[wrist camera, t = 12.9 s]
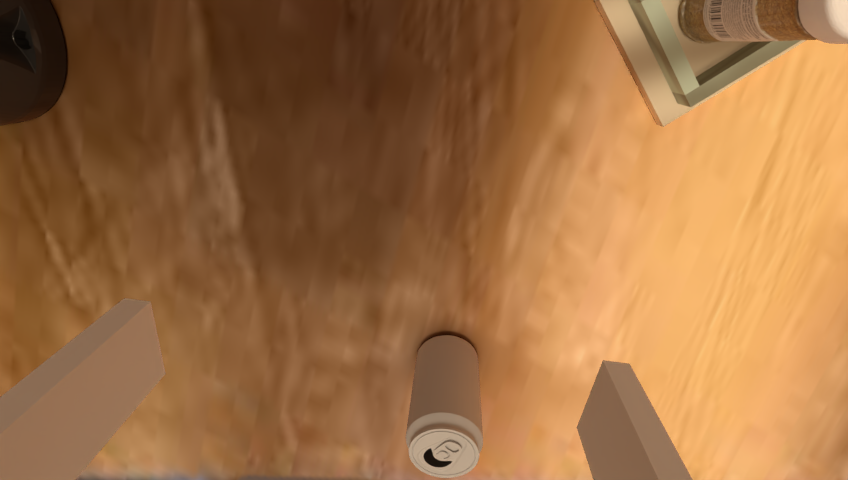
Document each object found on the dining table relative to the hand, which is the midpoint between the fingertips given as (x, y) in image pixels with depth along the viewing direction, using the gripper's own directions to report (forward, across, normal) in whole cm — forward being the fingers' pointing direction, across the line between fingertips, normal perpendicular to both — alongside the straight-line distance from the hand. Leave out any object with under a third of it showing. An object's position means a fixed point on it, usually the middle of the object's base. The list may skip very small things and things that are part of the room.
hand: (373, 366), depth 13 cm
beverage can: (+26, +5, -21) cm, 33 cm away
